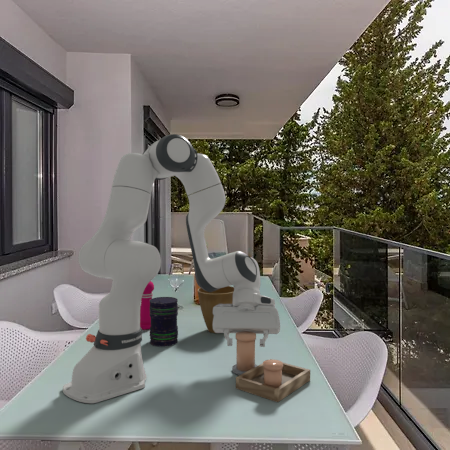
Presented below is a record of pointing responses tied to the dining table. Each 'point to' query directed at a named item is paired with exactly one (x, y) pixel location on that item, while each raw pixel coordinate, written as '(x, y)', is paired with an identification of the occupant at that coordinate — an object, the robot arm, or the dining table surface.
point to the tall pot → (245, 350)
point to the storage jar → (163, 321)
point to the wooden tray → (255, 385)
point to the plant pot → (213, 303)
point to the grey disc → (238, 370)
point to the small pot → (273, 373)
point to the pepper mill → (146, 307)
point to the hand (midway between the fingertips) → (245, 345)
